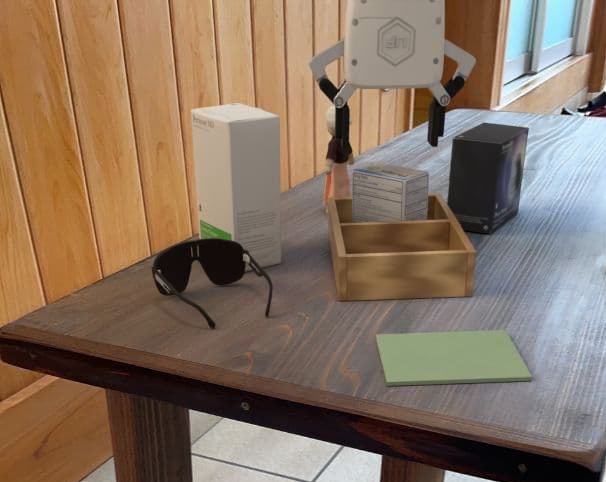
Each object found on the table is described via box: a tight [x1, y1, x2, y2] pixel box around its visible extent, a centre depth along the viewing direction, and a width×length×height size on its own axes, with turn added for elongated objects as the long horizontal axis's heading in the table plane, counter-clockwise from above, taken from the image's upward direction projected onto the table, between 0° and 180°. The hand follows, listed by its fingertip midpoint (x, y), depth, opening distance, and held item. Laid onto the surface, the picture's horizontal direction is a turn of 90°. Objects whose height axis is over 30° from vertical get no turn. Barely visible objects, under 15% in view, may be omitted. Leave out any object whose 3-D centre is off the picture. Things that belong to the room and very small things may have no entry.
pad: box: [375, 329, 533, 387], centre depth 74 cm, size 12×10×1 cm
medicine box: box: [351, 162, 430, 223], centre depth 97 cm, size 8×4×9 cm, turn 45°
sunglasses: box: [150, 238, 273, 329], centre depth 85 cm, size 10×12×5 cm
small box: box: [446, 121, 530, 235], centre depth 104 cm, size 11×6×10 cm, turn 150°
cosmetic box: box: [190, 102, 282, 273], centre depth 93 cm, size 8×7×16 cm
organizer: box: [327, 193, 478, 302], centre depth 94 cm, size 14×22×4 cm, turn 1°
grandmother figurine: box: [322, 105, 356, 215], centre depth 109 cm, size 8×4×13 cm, turn 164°
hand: (388, 145), depth 93 cm, fingers open, 9 cm apart
